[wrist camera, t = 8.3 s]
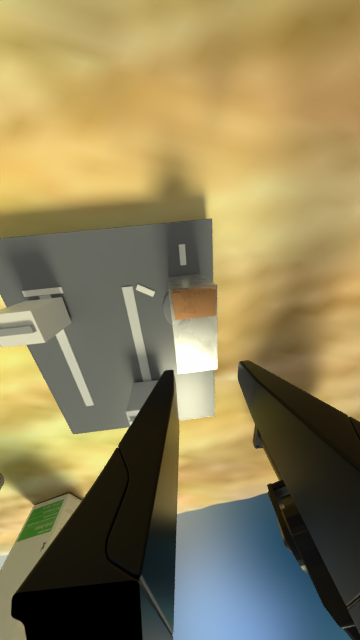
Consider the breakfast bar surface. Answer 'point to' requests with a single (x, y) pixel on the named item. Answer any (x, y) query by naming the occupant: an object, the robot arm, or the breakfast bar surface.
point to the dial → (194, 321)
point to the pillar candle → (1, 481)
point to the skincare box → (30, 555)
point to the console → (110, 314)
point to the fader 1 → (32, 321)
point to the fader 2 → (138, 398)
